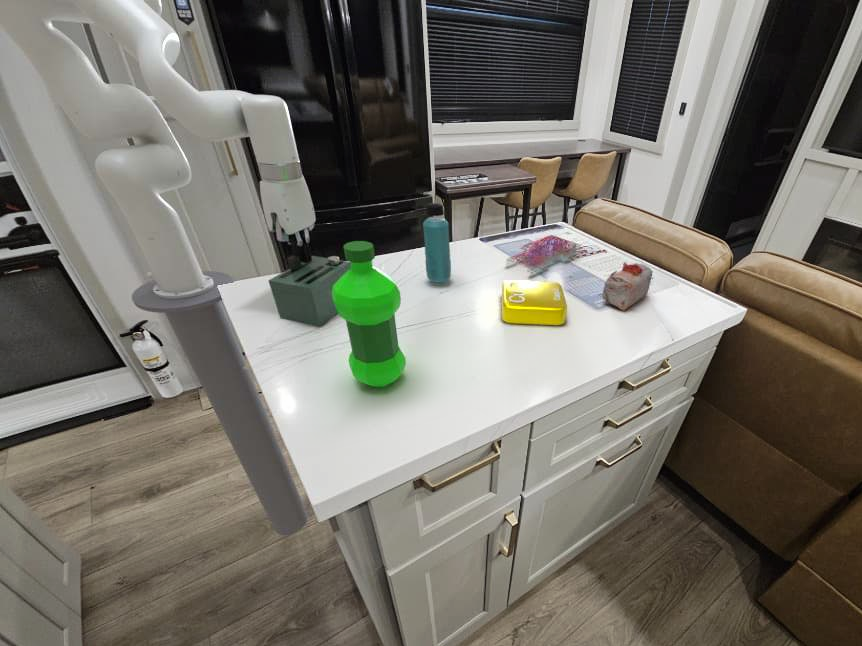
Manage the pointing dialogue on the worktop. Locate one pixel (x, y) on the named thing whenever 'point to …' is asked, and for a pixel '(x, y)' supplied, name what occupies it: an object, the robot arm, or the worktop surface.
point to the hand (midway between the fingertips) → (303, 260)
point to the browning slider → (294, 262)
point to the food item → (627, 285)
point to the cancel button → (334, 261)
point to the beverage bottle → (437, 244)
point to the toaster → (308, 291)
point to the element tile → (533, 303)
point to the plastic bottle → (369, 317)
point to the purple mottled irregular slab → (540, 253)
